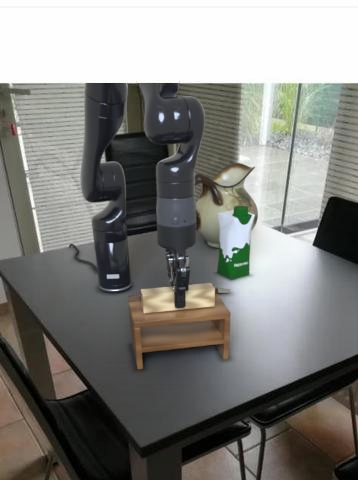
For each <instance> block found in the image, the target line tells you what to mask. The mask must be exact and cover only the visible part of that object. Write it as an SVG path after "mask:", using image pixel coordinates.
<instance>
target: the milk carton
mask: <svg viewBox="0 0 358 480" xmlns="http://www.w3.org/2000/svg"><path fill="white" fill-rule="evenodd" d="M217 214H218V221H219V227H220V237H219V248H218V262H217V263H218V264H217V270H216V273H217V274H218V275H220V276H222V277H224V278H226V279H228V280H230V281H232V280H237V279H240V278H243V277H247V276H250V256H251V243H252V232H251V229H252V224H253V221H254V217H255V214H252V213H249V212H248V207H246V206H236V207H234V210H231V211H226V212H221V213H217Z"/></svg>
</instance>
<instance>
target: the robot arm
mask: <svg viewBox="0 0 358 480" xmlns="http://www.w3.org/2000/svg"><path fill="white" fill-rule="evenodd" d="M137 86H138V88H139V92H140V97H141V103H142V124H143V131H144V133H145V136H146V137H147V139H148V140H149V141H150V142H151V143H153V144H155V145H157V146H167V145H178V147H177V150H176V151H175V153H174V154H172V156H169V157H166V158H164V159H162V160H159V161H158V162H157V163H156V165H155V179H156V181H155V182H156V183H155V184H156V205H155V212H156V214H155V215H156V234H157V235H156V237H157V238H156V239H157V245H158V246H160V248H162V249H165V259H166V264H167V265H166V271H167V276H168V278H169V279H168V281H169V283H170V287H172V286H174V288H173V290H174V305H175V308H184V307H185V306H186V302H185V291H188V289H189V284H190V276H191V267H190V266H189V264H190V256H189V255H188V254H187V249H189V248H192V247H194V246H195V245H196V243H197V230H196V203H197V201H196V186H195V175H196V167H197V162H198V157H199V152H200V149H201V144H202V142H203V141H202V140H203V137H204V134H205V128H206V114H205V109H204V106H203V104H202V103H201V101H200V100H199V99H198V98H197V97H195V96H191V95H185V96H184V95H183V96H177V94H178V92H179V88H180V82H179V83H137ZM128 96H129V86H128V82H127V83H85V82H84V103H83V104H84V106H83V107H84V115H83V117H84V120H83V121H84V122H83V123H84V125H83V126H84V127H83V128H84V130H83V131H84V132H83V136H84V137H83V148H82V156H81V163H80V164H81V166H80V175H79V176H80V190H81V194H82V196H83V198H84V199H85V201H87V203H92V204H93V203H94V204H96V203H104V202H108V204H107V205H106V207H104V208H103V209H102V210H100V211H99V212H97V213H96V214H94V215H93V216H92V217H91V228H92V229H91V230H92V236H93V244H94V253H95V261H96V265H95V264H94V263H93V262H91V261H88V260H85V259H81V258H79V257H78V255H79V253H80V252H79V251H80V250H79V248H78V247H77V246H76V245H75V244H73V243H70V244H69V245H68V248H72V247H73V248H74V250H75V253H74V257H73V258H74V259H75V260H76V261H78V262H80V263H84V264H88V265H90V266H91V267H93V269H94V271H95V272H97V279H98V289H99V290H100V291H101V292H103V293H107V294H118V293H123V292H127V291H129V290H130V289H131V288H132V277H131V264H130V254H129V253H130V252H129V240H128V228H127V227H128V226H127V216H128V215H127V213H128V212H127V188H126V187H127V186H126V175H125V172H124V169H123V166H122V165H121V164H120V163H119V162H118V161H104V162H102V159H103V156H104V153H105V151H106V149H107V148H108V146H109V145H110V143H112V141H113V139H114V138H115V137H116V135H117V134H118V132H119V131H120V130H121V128H122V126H123V124H124V122H125V118H126V114H127V105H128ZM182 284H183V285H182Z"/></svg>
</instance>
